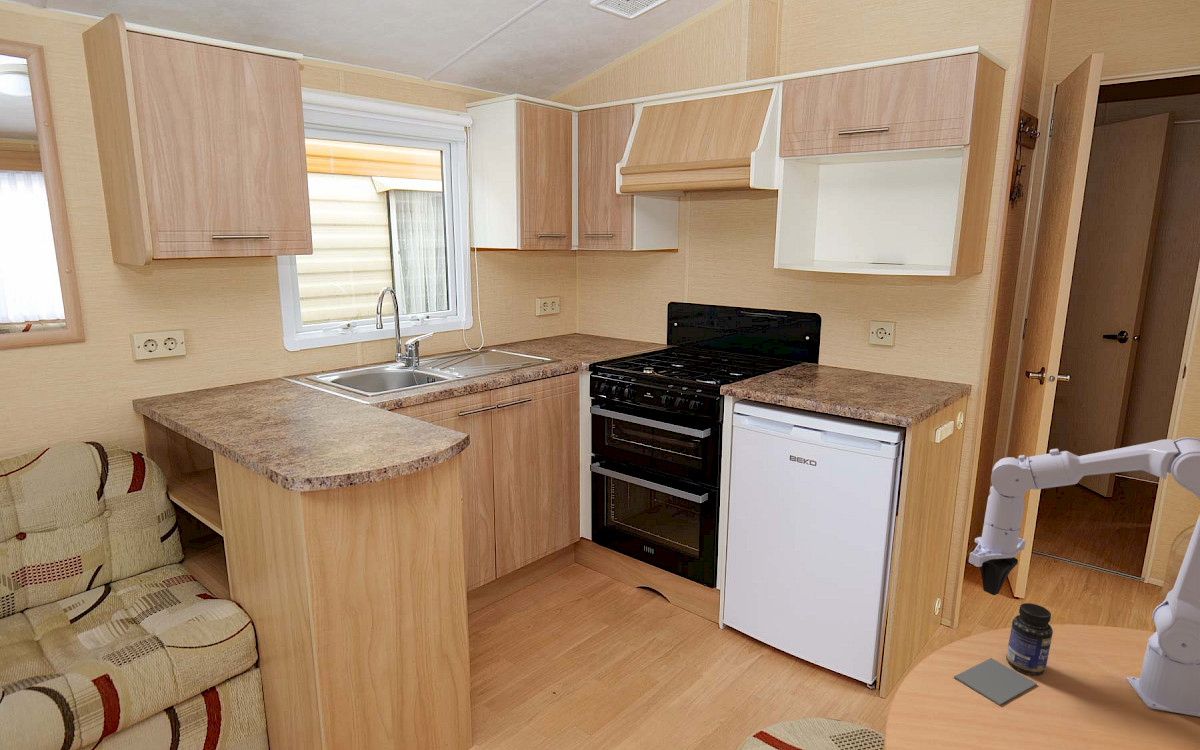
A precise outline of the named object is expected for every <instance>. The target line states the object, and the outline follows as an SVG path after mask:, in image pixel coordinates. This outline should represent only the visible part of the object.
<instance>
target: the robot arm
mask: <svg viewBox="0 0 1200 750" xmlns="http://www.w3.org/2000/svg"><path fill="white" fill-rule="evenodd" d="M1134 471H1144V472H1145V473H1148V474H1151V475H1153V476H1156V477H1158V478H1160V479H1163V480H1166V479H1167V477H1168V474H1171V476H1172V478H1173V480H1174V481H1175V482H1176V484H1178V485H1179V486H1181V488H1184V489H1185V490H1187V491H1188V492H1190V493H1191V494H1193V495H1195V496H1196V497H1197V499H1198V500H1199V501H1200V438H1197V437H1192V436H1191V437H1188V436H1187V437H1181V438H1177V439H1175V440H1173V439H1170V438H1167V439H1166V438H1165V439H1159V440H1155V441H1150V442H1145V443H1140V444H1136V445H1135V444H1134V445H1130V446H1125V447H1121V448H1115V449H1109V450H1104V451H1099V452H1095V453H1094V452H1093V453H1088V454H1084V455H1080V456H1079V455H1077V454H1075V453H1073V452H1070V451H1068V450H1063V451H1059V448H1052V449H1050V450H1049V453H1043V454H1037V455H1031V456H1026V455H1025V454H1022V455H1021V454H1020V455H1018V457H1017V458H1015V457H1008V456H1007V457H1004V458H1000V459H999V460H998V461H996V462H995V464H994V465H993V467H992V469H991V475H990V483H991V486H990V487H989V488H990V489H989V495H988V497H987V502H986V507H985V508H986V509H985V514H984V520H983V521H984V522H983V528H982V533H981V536H978V537H976V538H974V543H976V544H977V545H976V546H975V548H974V550H972V551H971V552H969V557H968V563H970V564H971V565H972V566H973V565H974V567H975V566H976V567H978V568H979V571H980V573H981V574H980V575H981V581H982V582H981V583H982V588H983V589H982V590H983V591H984V592H986V593H987V594H990V595H992V596H996V595H998V594H999V593H1000V591H1001V589H1002V587H1003V585H1004V583H1005V581H1006V580H1007V577H1008V576H1009V574H1010V573H1011V571H1013V569H1014V568H1015V567H1016V566H1017V565H1018V562H1019V560H1018V558H1016V557H1017V556H1018V554H1019V552H1020V551H1024V550H1025V546H1026V539H1024V538H1021V537H1020V534H1021V527H1022V523H1023V522H1022V521H1023V515H1024V510H1025V502H1024V498H1025V494H1026V493H1027V491H1029V490H1043V489H1051V488H1057V487H1065V486H1072V485H1076V484H1078V483H1079V482H1080V480H1082V478H1083V477H1084V476H1093V475H1103V474H1104V475H1106V474H1113V473H1114V474H1115V473H1124V472H1134ZM1167 473H1168V474H1167ZM1151 619H1152V621H1153V624H1154V626H1155V629H1156V631H1155V632H1154V633H1153V634H1152V635H1151V636H1149V637H1148V639H1147V644H1146V648H1145V649H1146V650H1145V652H1144V658H1143V661H1142V666H1141V671H1140V675H1139V677H1135V676H1127V677H1126V680H1127V681H1128V683H1129V684H1130V685H1131V687H1132V688H1133V689H1134V691H1135V692H1136V694H1137V695H1138V696H1139V698H1140V699H1141V700H1142V701H1143V702H1144V704H1145V706H1147V708H1149V709H1153V710H1160V711H1165V712H1169V713H1170V712H1171V713H1175V714H1182V715H1187V716H1193V717H1199V718H1200V514H1199V515H1198V517H1197V521H1196V524H1195V526H1194V528H1193V531H1192V534H1191V538H1190V541H1189V543H1188V546H1187V549H1186V552H1185V555H1184V557H1183V560H1182V563H1181V565H1180V569H1179V572H1178V575H1177V578H1176V579H1175V582H1174V586H1173V587H1172V589H1171V590H1169V591H1168V592H1167V594H1166V597H1165V599H1164V600H1163V602H1161V603H1160V604H1159V605H1157V606H1156V607H1155V608H1154V609H1153V612H1152V618H1151Z"/></svg>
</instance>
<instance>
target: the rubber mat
mask: <svg viewBox="0 0 1200 750" xmlns="http://www.w3.org/2000/svg"><path fill="white" fill-rule="evenodd" d="M953 679H954V680H957V681H958V682H960V683H962V684H964V686H967V687H968V688H969V689H972V690H973V691H975V692H976V693H978V694H980V695H981V696H983V697H984V698H986V699H988V700H989V701H991V702H993V703H995V704H996V705H998V706H999V707H1000V706H1002V705H1004V704H1006V703H1008V702H1009V701H1011V700H1013V699H1014V698H1016V697H1018V696H1020V695H1021V694H1023V693H1025V692H1027V691H1029V690H1030V689H1032V688H1034V687H1035V686H1037V685H1038V683H1037V682H1035V681H1034V680H1032V679H1029V678H1028V677H1026V676H1025V675H1023V674H1021V673H1019V672H1017V671H1015V670H1013V669H1012V668H1010V667H1008V666H1006V665H1005V664H1003V663H1001V662H1000V661H997V660H996V659H994V658H993V657H990V658H989V659H986V660H985V661H982V662H980V663H978V664H976V665H974V666H972V667H970V668H968V669H966V670H964V671H962V672H960V673H958V674H956V675H954V676H953Z"/></svg>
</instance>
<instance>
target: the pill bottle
mask: <svg viewBox="0 0 1200 750" xmlns="http://www.w3.org/2000/svg"><path fill="white" fill-rule="evenodd" d="M1018 612H1019V614H1018V615H1016V616H1014V618H1013V619H1012V623H1011V628H1010V633H1009V639H1008V645H1007V651H1006V655H1005V659H1006V661H1007V663H1008V665H1009V666H1010V667H1011V668H1013V669H1015V670H1017V671H1018V672H1020V673H1023V674H1026V675H1029V676H1042V675H1044V673H1045V672H1046V670H1047V669H1046V668H1047V665H1048V659H1049V655H1050V649H1051V643H1052V638H1053V632H1054V630H1053V627H1052V626H1051V625H1050V624H1049V623H1050V622H1051V617H1052V613H1051V612H1050V610H1048V609H1047V608H1045V607H1044V606H1041V605H1039V604H1035V603H1029V602H1027V603H1021V604H1020V605H1019V609H1018Z"/></svg>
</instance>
